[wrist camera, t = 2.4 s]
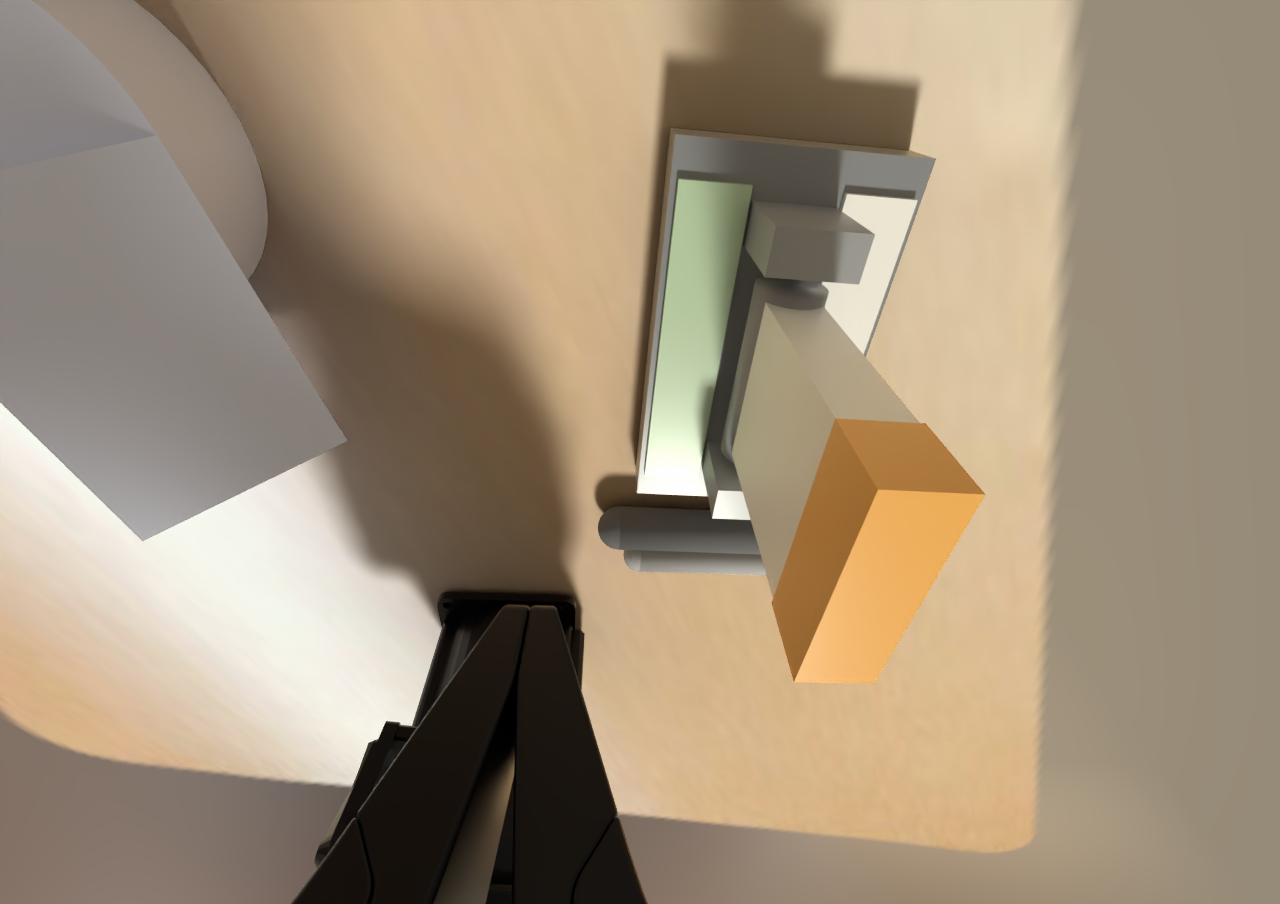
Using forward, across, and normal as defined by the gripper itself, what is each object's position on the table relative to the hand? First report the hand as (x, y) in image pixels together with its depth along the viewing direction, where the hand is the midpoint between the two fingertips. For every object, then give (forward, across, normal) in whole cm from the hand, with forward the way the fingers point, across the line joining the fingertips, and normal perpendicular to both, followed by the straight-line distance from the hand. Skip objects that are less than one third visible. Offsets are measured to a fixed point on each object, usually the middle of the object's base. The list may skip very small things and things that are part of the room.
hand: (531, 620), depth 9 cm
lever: (+9, -6, 0) cm, 11 cm away
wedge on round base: (+12, +13, -2) cm, 18 cm away
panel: (+12, -6, 0) cm, 13 cm away
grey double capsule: (+12, -7, +9) cm, 17 cm away
